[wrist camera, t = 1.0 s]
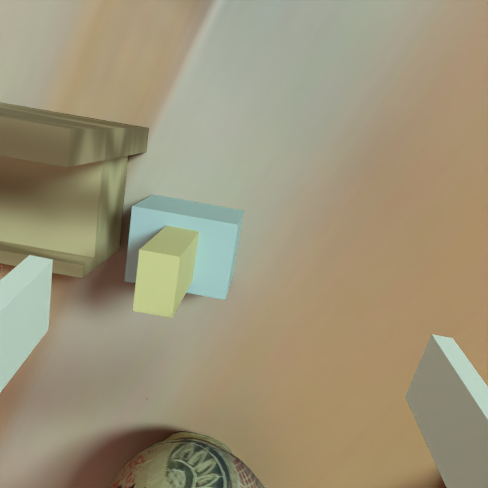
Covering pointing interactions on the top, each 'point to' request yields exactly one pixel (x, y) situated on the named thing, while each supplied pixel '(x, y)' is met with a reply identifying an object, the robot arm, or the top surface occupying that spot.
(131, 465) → the ceramic jug
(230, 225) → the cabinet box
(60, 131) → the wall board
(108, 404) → the top surface
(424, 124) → the top surface
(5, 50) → the top surface
